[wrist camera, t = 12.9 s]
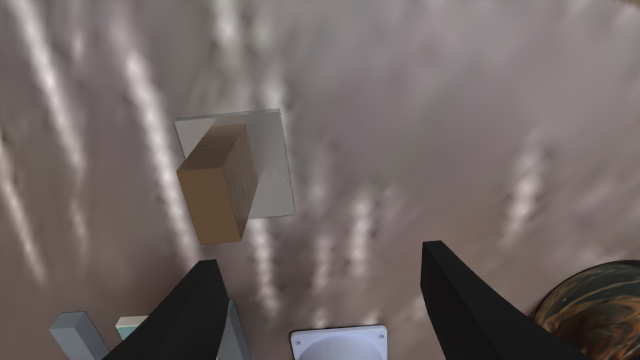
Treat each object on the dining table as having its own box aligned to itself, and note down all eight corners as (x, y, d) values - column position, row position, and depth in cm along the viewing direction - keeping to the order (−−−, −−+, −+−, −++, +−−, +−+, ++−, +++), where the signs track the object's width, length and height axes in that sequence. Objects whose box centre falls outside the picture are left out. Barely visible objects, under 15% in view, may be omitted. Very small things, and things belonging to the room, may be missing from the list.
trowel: (280, 107, 20) (266, 152, 15) (295, 207, 24) (288, 276, 18) (178, 116, 20) (126, 165, 15) (208, 215, 24) (175, 284, 18)
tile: (197, 347, 31) (192, 363, 30) (142, 350, 31) (135, 366, 30) (183, 309, 29) (176, 324, 27) (123, 312, 29) (114, 327, 27)
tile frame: (258, 382, 33) (255, 398, 31) (113, 392, 33) (105, 409, 32) (232, 299, 27) (228, 315, 26) (61, 313, 28) (48, 329, 27)
